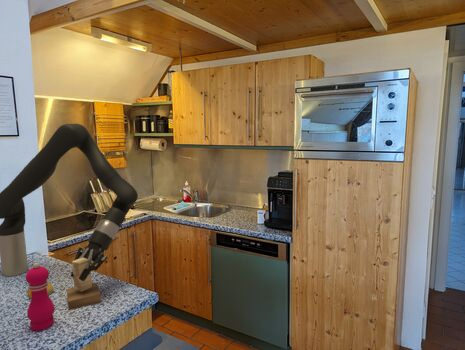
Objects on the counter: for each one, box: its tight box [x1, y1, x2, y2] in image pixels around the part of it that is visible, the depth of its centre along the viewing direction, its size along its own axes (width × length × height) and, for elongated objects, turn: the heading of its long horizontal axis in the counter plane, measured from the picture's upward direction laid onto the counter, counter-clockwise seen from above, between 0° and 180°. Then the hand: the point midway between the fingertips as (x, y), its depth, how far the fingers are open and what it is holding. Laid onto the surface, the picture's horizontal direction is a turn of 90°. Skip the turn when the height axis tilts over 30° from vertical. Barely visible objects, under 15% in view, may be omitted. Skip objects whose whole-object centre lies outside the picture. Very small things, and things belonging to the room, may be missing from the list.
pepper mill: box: [25, 262, 56, 332], centre depth 100 cm, size 7×7×20 cm
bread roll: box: [26, 281, 55, 300], centre depth 121 cm, size 8×9×4 cm
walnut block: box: [66, 281, 102, 311], centre depth 116 cm, size 10×10×3 cm
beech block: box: [71, 258, 93, 292], centre depth 115 cm, size 4×4×10 cm
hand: (77, 278), depth 113 cm, fingers closed on beech block, 4 cm apart
